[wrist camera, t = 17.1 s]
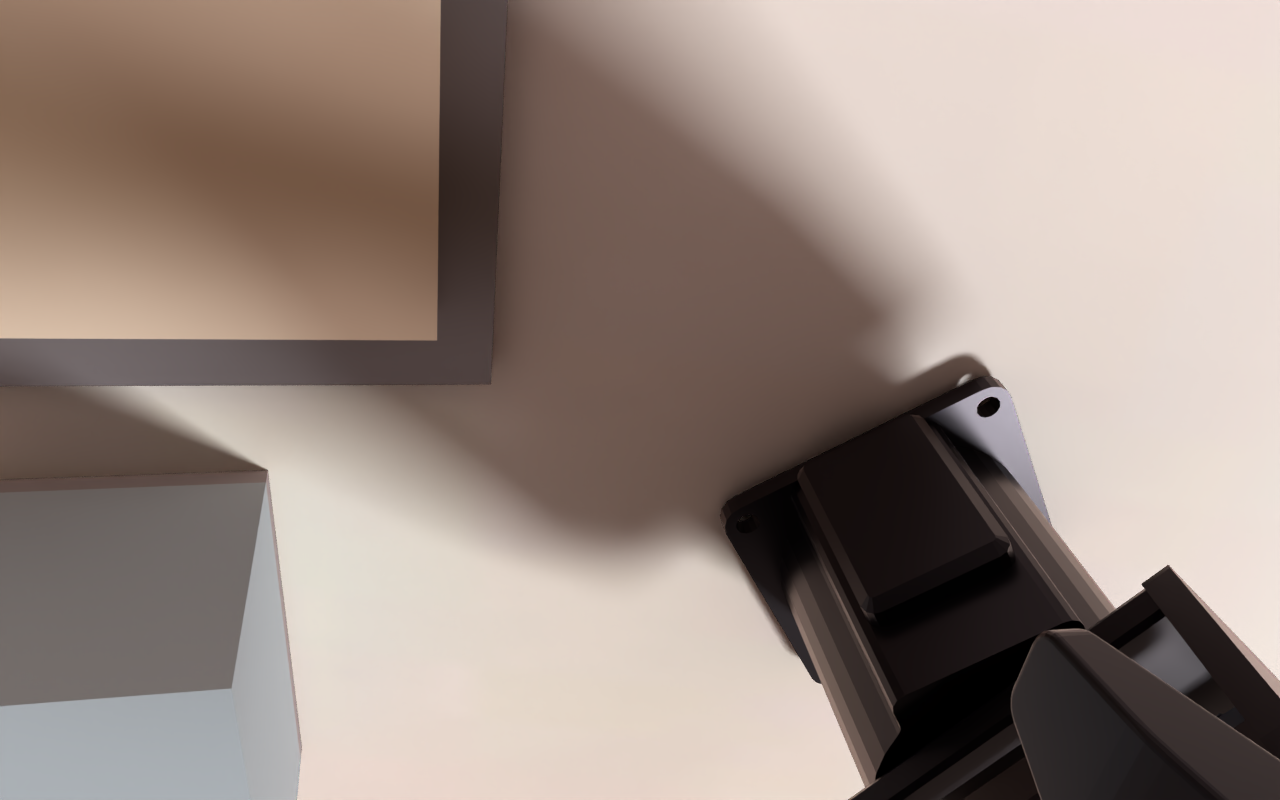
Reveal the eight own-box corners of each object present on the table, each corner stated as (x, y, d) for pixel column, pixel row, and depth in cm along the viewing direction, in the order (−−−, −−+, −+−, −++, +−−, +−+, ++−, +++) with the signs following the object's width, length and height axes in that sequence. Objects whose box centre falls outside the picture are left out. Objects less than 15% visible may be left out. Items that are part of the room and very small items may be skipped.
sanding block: (302, 742, 25) (280, 978, 20) (67, 762, 24) (-11, 1016, 19) (268, 466, 20) (231, 688, 16) (-21, 477, 19) (-149, 717, 15)
